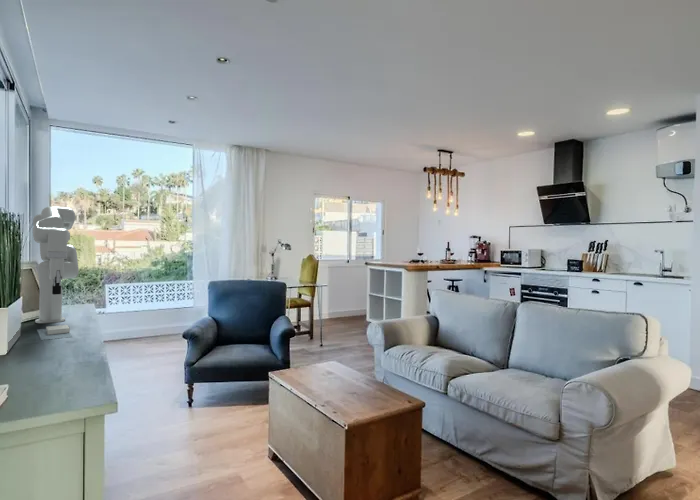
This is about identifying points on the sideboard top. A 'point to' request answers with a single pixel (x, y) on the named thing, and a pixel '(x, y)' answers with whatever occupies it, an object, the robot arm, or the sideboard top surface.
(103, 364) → the sideboard top surface
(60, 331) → the picture frame
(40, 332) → the mat
